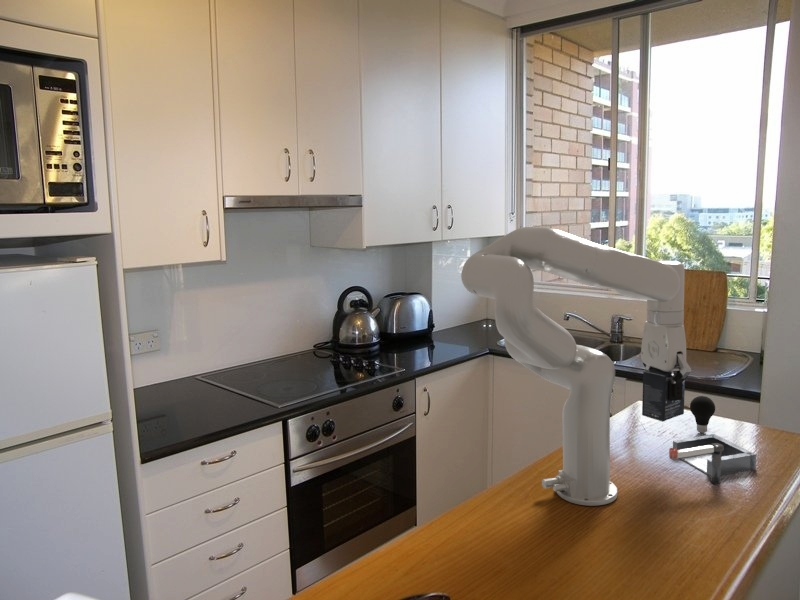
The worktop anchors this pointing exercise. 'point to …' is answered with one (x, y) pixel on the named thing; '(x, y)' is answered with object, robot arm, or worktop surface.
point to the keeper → (717, 457)
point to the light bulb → (702, 412)
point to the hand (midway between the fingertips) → (663, 394)
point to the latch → (695, 450)
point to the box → (659, 396)
